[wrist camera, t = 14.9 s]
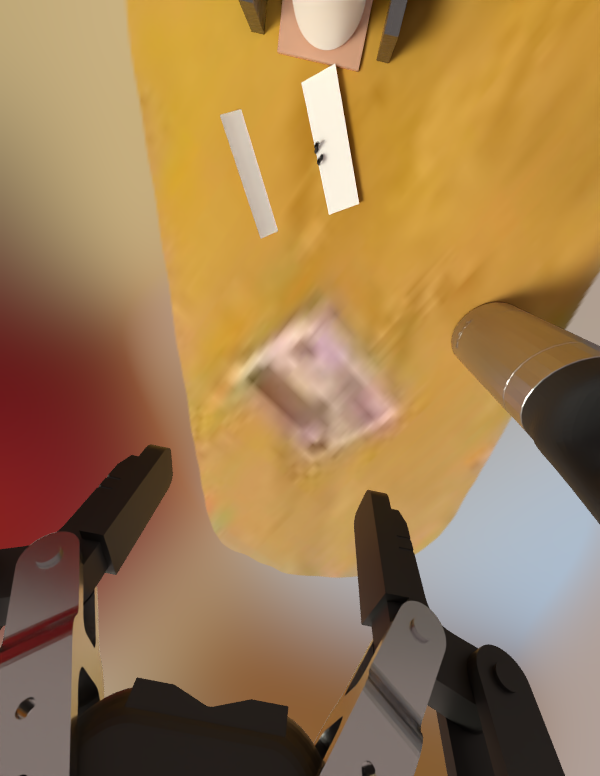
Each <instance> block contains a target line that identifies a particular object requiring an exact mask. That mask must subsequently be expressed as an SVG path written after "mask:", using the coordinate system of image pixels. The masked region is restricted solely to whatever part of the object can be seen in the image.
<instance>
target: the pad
mask: <svg viewBox="0 0 600 776" xmlns="http://www.w3.org/2000/svg"><path fill="white" fill-rule="evenodd" d="M372 2H373V0H366V3H365V7H364V11H363V14H362V17H361V20H360V22H359V25H358V27H357V28H356V30H355V32H354V33H353V35H352V36H351V37H350V38H349V39H348V41H346V42H345V43H344V44H343V45H341V46H340V47H338V48H336V49H332V50H321V49H318V48H316V47H314V46H313V45H311V44H310V43H309V42H308V41H307V40H306V39H305V37H304V36H303V34H302V33H301V31H300V28H299V26H298V23H297V20H296V17H295V12H294V7H293V1H292V0H282V11H281V21H280V31H279V41H278V51H277V52H278V53H279V54H283V55H288V56H292V57H296V58H301V59H305V60H309V61H314V62H318V63H322V64H327V65H331V66H332V65H333V64H335V65H336V67H340V68H344V69H348V70H353V71H357V72H358V70H359V65H360V60H361V55H362V50H363V46H364V41H365V36H366V31H367V26H368V21H369V16H370V12H371V7H372Z"/></svg>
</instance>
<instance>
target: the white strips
mask: <svg viewBox="0 0 600 776" xmlns="http://www.w3.org/2000/svg"><path fill="white" fill-rule="evenodd" d="M302 87H303V92H304V97H305V102H306V106H307V111H308V116H309V121H310V126H311V131H312V135H313V140H314V145H315V147H314V148H315V154H316V155H317V159H318V160H317V164H318V165H319V169H320V174H321V179H322V183H323V188H324V193H325V198H326V203H327V207H328V212H329V214H332V213H335V212H338V211H340V210H343V209H346V208H349V207H352V206H354V205H357V204H359V200H358V194H357V188H356V182H355V176H354V171H353V165H352V159H351V153H350V147H349V141H348V135H347V129H346V124H345V118H344V112H343V106H342V100H341V94H340V88H339V83H338V77H337V71H336V65H335V64H333V65H332V66H330V67H328V68H326V69H325V70H323V71H321V72H319V73H318V74H316V75H314V76H312V77H311V78H309V79H307V80H305V81H304V82H302ZM220 117H221V120H222V123H223V126H224V129H225V132H226V135H227V138H228V141H229V144H230V147H231V150H232V153H233V156H234V159H235V162H236V165H237V168H238V172H239V175H240V178H241V181H242V184H243V187H244V190H245V193H246V196H247V199H248V202H249V205H250V208H251V211H252V214H253V217H254V220H255V223H256V226H257V229H258V232H259V235H260V238H263V237H266V236H268V235H270V234H273V233H275V232H277V231H278V229H277V226H276V223H275V219H274V216H273V213H272V210H271V206H270V203H269V200H268V196H267V193H266V190H265V187H264V183H263V180H262V177H261V173H260V170H259V167H258V163H257V160H256V157H255V154H254V150H253V147H252V144H251V140H250V137H249V134H248V131H247V127H246V124H245V121H244V117H243V114H242V111H241V109H240V110H236V111H232V112H229V113H225V114H221V115H220Z"/></svg>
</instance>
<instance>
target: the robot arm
mask: <svg viewBox="0 0 600 776" xmlns="http://www.w3.org/2000/svg"><path fill="white" fill-rule="evenodd" d="M451 342H452V349H453V352H454V354H455V355H456V356H457V358H458V359H459V360H460V361H461V362H462V363H463V364H464V365H465V366H466V368H467V369H468V370H469V371H470V372H471V373H472V374H473V375H474V376H475V377H476V378H477V380H478V381H479V382H480V383H481V384H482V385H483V386H484V387H485V388H486V389H487V390H488V391H489V392H490V394H491V395H492V396H493V397H494V398H495V399H496V400H497V401H498V402H499V403H500V404H501V405H502V406H503V408H504V409H505V410H506V411H507V412H508V413H509V414H510V415H511V416H512V417H513V418H514V419H515V420H516V421H517V422H518V423H519V425H520V426H521V427H522V428H523V429H524V430H525V431H526V432H527V433H528V434H529V435H530V437H531V438H532V439H533V440H534V442H535V444H536V446H537V447H538V449H539V450H540V451H541V453H542V454H543V455H544V456H545V457H546V459H547V460H548V461H549V462H550V463H551V464H552V465H553V467H554V468H555V469H556V470H557V471H558V472H559V474H560V475H561V476H562V477H563V479H564V480H565V481H566V482H567V483H568V485H569V486H570V487H571V488H572V490H573V491H574V492H575V493H576V495H577V496H578V497H579V499H580V500H581V501H582V502H583V503H584V505H585V506H586V507H587V509H588V510H589V511H590V512H591V514H592V515H593V516H594V517H595V519H596V520H597V521H598V523H599V524H600V346H598V345H596V344H594V343H592V342H590V341H588V340H585V339H583V338H581V337H579V336H577V335H575V334H573V333H570V332H568V331H566V330H564V329H562V328H560V327H558V326H555V325H553V324H551V323H549V322H547V321H545V320H543V319H540V318H538V317H536V316H534V315H532V314H530V313H528V312H526V311H524V310H521V309H519V308H517V307H515V306H513V305H511V304H508V303H503V302H493V303H488V304H484V305H482V306H479V307H477V308H475V309H473V310H472V311H470V312H469V313H468V314H466V315H465V316H464V317H463V318H462V319H461V320H460V322H459V323H458V325H457V326H456V328H455V330H454V332H453V335H452V341H451ZM172 476H173V472H172V459H171V450H170V448H166V447H160V446H156V445H148V446H147V447H146V448H145V449H144V451H143V452H142V453H141V454H140V456H134V455H131V456H130V457H128V458H127V459H125V460H123V461H122V462H120V463H119V464H117V466H116V467H115V468H114V469H113V470H112V471H111V472H110V473H109V475H108V477H107V478H105V479H104V480H103V481H102V483H101V484H100V485H99V487H98V488H96V490H95V491H94V492H93V493H92V494H91V495H90V496H89V498H88V499H87V500H86V501H85V502H84V503H83V504H82V506H81V507H80V508H79V509H78V510H77V511H76V512H75V514H74V515H73V516H72V517H71V518H70V519H69V520H68V522H67V523H66V524H65V525H64V526H63V527H62V528H61V529H60V530H59V531H57V532H55V533H51V534H49V535H46V536H44V537H42V538H40V539H38V540H37V541H35V542H34V543H32V544H31V545H29V546H23V547H16V548H8V549H0V630H1V628H2V627H3V626H5V625H6V626H5V632H4V638H3V642H2V645H1V648H0V776H414V773H415V770H416V767H417V764H418V760H419V757H420V753H421V749H422V743H423V736H422V733H421V723H422V719H423V716H424V713H425V710H426V707H427V705H428V706H430V707H431V708H433V709H434V710H436V712H437V717H438V723H439V729H440V734H441V740H442V746H443V751H444V757H445V763H446V768H447V774H448V776H565V774H564V772H563V769H562V767H561V764H560V762H559V759H558V757H557V754H556V751H555V749H554V746H553V744H552V741H551V739H550V736H549V734H548V731H547V728H546V726H545V723H544V721H543V718H542V715H541V713H540V710H539V708H538V705H537V703H536V700H535V698H534V695H533V692H532V690H531V687H530V685H529V683H528V680H527V678H526V676H525V675H524V673H523V671H522V670H521V668H520V667H519V666H518V664H517V663H516V662H515V661H514V660H513V659H512V658H511V656H509V655H508V654H507V653H506V652H505V651H503V650H502V649H500V648H498V647H496V646H493V645H484V646H482V647H480V648H479V649H478V648H476V647H475V646H473V645H471V644H470V643H468V642H466V641H464V640H463V639H461V638H459V637H458V636H456V635H454V634H453V633H451V632H450V631H448V630H447V629H446V628H444V627H443V626H442V625H441V623H440V621H439V619H438V618H437V617H436V615H435V614H434V613H433V612H432V611H431V610H430V608H429V606H428V604H427V601H426V598H425V594H424V590H423V586H422V582H421V578H420V574H419V570H418V567H417V562H416V558H415V555H414V553H413V547H412V543H411V541H410V535H409V531H408V527H407V523H406V522H405V520H404V519H403V517H402V515H401V514H400V512H399V510H394V509H391V507H390V502H389V497H388V495H387V494H386V493H381V492H376V491H371V490H367V491H366V493H365V495H364V497H363V499H362V501H361V503H360V505H359V508H358V510H357V512H356V515H355V520H354V532H355V545H356V558H357V571H358V583H359V597H360V610H361V623H362V625H367V626H371V627H372V633H373V640H372V641H371V643H370V645H369V646H368V649H367V650H366V652H365V654H364V656H363V658H362V659H361V661H360V663H359V665H358V667H357V669H356V670H355V673H354V674H353V676H352V678H351V680H350V682H349V684H348V685H347V687H346V689H345V691H344V693H343V695H342V696H341V698H340V699H339V701H338V703H337V704H336V706H335V707H334V708H333V710H332V712H331V713H330V715H329V717H328V718H327V720H326V722H325V724H324V725H323V727H322V729H321V731H320V733H319V735H318V736H317V738H316V740H315V742H314V744H313V742H312V741H311V739H310V738H309V736H308V735H307V734H306V733H305V731H304V730H303V729H302V728H301V727H300V726H299V725H298V724H297V723H296V722H295V721H293V720H292V719H290V718H289V717H288V716H287V714H288V706H283V705H277V704H273V703H267V702H262V701H257V700H252V699H251V700H246V701H241V702H236V703H230V704H225V705H220V706H215V707H208V706H206V705H204V704H203V703H201V702H200V701H198V700H197V699H195V698H194V697H192V696H190V695H189V694H188V693H186V692H184V691H183V690H182V689H180V688H179V687H177V686H175V685H173V684H168V683H163V682H157V681H152V680H147V679H142V678H136V681H135V683H134V685H133V688H128V689H125V690H122V691H119V692H116V693H114V694H112V695H110V696H108V697H106V698H104V679H103V668H102V662H101V657H100V650H99V626H98V596H97V584H98V583H99V581H100V580H101V578H102V576H103V575H104V573H110V574H115V575H116V574H117V573H118V571H119V569H120V568H121V566H122V564H123V563H124V561H125V560H126V558H127V556H128V555H129V553H130V551H131V550H132V548H133V546H134V545H135V543H136V541H137V540H138V538H139V536H140V535H141V533H142V531H143V530H144V528H145V527H146V525H147V523H148V521H149V520H150V518H151V517H152V515H153V513H154V512H155V510H156V508H157V507H158V505H159V503H160V501H161V500H162V498H163V497H164V495H165V493H166V492H167V490H168V488H169V486H170V484H171V481H172Z"/></svg>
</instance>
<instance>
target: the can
mask: <svg viewBox="0 0 600 776" xmlns="http://www.w3.org/2000/svg"><path fill="white" fill-rule="evenodd" d="M292 1H293V7H294V12H295V17H296V20H297V23H298V26H299V28H300V31H301V33H302V34H303V36H304V37H305V39H306V40H307V41H308V42H309V43H310V44H311V45H313V46H314V47H316V48H318V49H321V50H332V49H336V48H338V47H340V46H341V45H343V44H344V43H345V42H346V41H348V39H349V38H350V37H351V36H352V35H353V33H354V32H355V30H356V28H357V27H358V25H359V22H360V20H361V17H362V14H363V11H364V7H365V3H366V0H292Z"/></svg>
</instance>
